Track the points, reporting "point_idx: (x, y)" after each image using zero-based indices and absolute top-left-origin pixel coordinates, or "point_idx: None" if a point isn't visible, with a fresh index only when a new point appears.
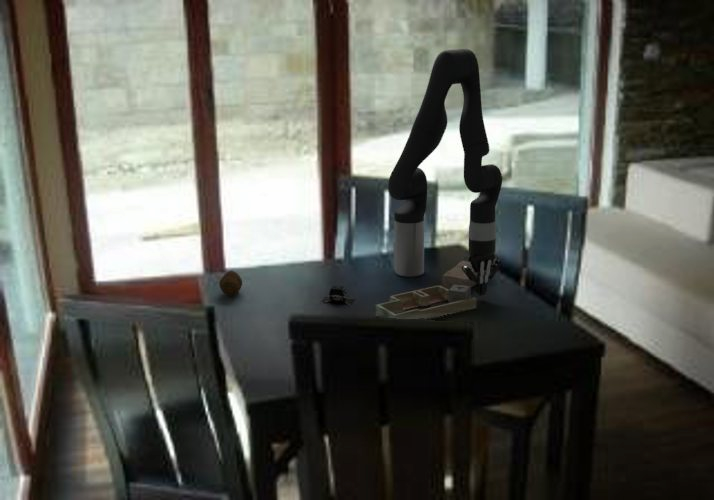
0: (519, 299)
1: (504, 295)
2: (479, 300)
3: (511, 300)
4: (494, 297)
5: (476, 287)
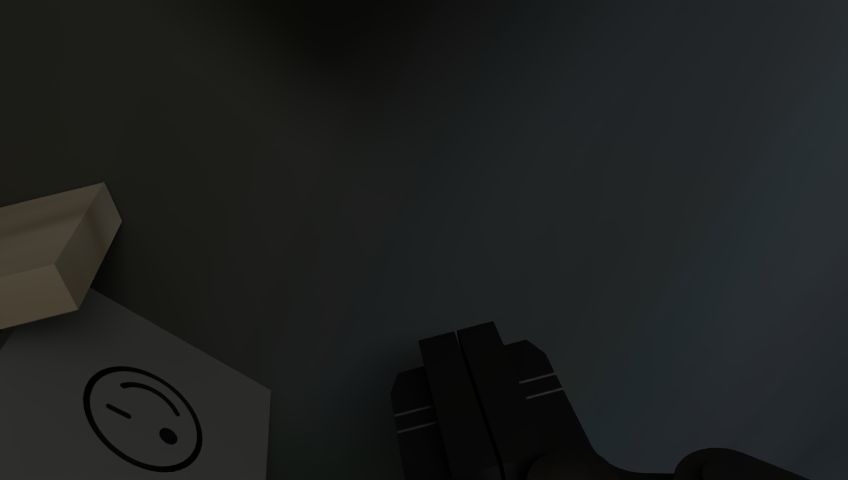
0: (835, 415)
1: (794, 267)
2: (416, 341)
3: (746, 421)
4: (645, 296)
5: (403, 456)
